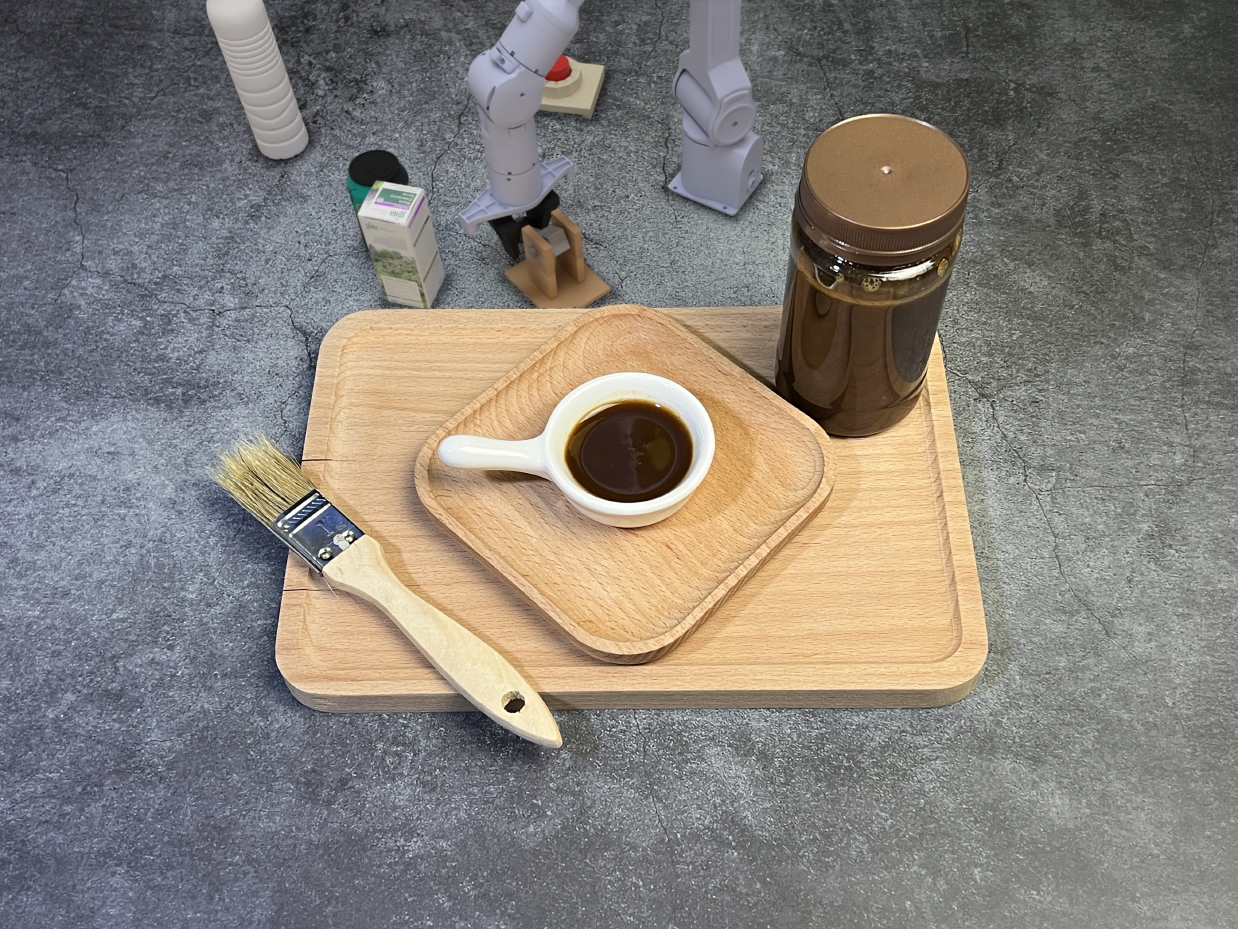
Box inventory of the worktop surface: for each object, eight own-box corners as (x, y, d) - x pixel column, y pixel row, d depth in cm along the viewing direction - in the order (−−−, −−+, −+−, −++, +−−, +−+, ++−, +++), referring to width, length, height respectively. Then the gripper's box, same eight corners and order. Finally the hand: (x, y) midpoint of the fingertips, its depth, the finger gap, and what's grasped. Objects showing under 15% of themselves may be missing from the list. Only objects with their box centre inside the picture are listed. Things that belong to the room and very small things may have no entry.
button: (572, 66, 146) (571, 55, 144) (566, 83, 144) (565, 72, 142) (546, 63, 146) (544, 52, 145) (539, 80, 144) (538, 69, 143)
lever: (510, 246, 129) (500, 221, 128) (532, 233, 130) (522, 209, 129) (552, 262, 122) (542, 236, 120) (575, 248, 123) (565, 223, 121)
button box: (604, 75, 149) (603, 53, 146) (590, 119, 145) (589, 97, 142) (526, 67, 151) (523, 45, 148) (509, 110, 146) (506, 88, 143)
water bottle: (296, 164, 141) (233, -13, 120) (250, 156, 143) (180, -21, 122) (324, 120, 146) (268, -58, 125) (279, 112, 147) (216, -65, 126)
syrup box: (447, 277, 130) (425, 184, 118) (429, 314, 127) (405, 223, 115) (402, 269, 131) (376, 176, 119) (384, 305, 128) (355, 213, 116)
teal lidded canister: (389, 214, 136) (368, 137, 126) (435, 234, 134) (417, 158, 124) (354, 251, 133) (329, 175, 123) (400, 272, 131) (379, 196, 121)
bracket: (505, 278, 130) (495, 220, 122) (559, 246, 132) (553, 188, 124) (556, 328, 125) (549, 272, 117) (611, 294, 128) (608, 237, 120)
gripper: (544, 109, 123) (553, 200, 134) (435, 167, 118) (455, 256, 130) (582, 142, 120) (589, 232, 131) (472, 203, 115) (489, 291, 126)
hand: (525, 246), depth 130 cm, fingers closed on lever, 3 cm apart
